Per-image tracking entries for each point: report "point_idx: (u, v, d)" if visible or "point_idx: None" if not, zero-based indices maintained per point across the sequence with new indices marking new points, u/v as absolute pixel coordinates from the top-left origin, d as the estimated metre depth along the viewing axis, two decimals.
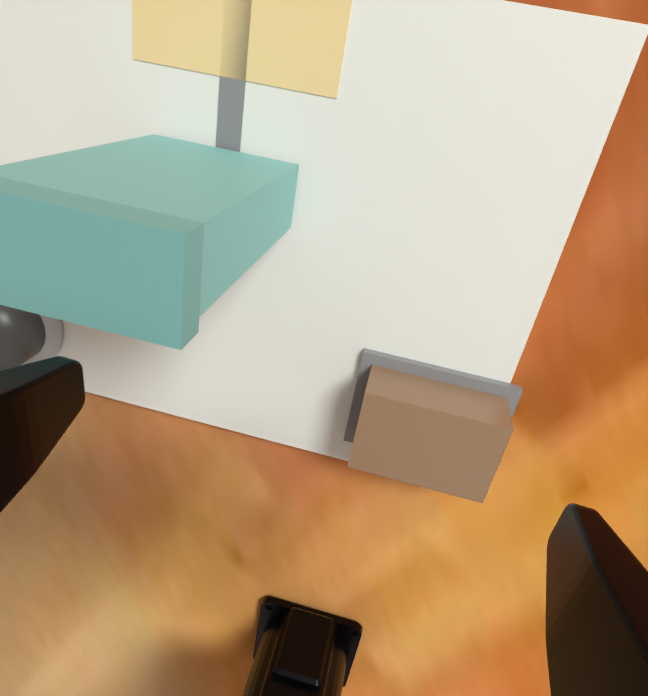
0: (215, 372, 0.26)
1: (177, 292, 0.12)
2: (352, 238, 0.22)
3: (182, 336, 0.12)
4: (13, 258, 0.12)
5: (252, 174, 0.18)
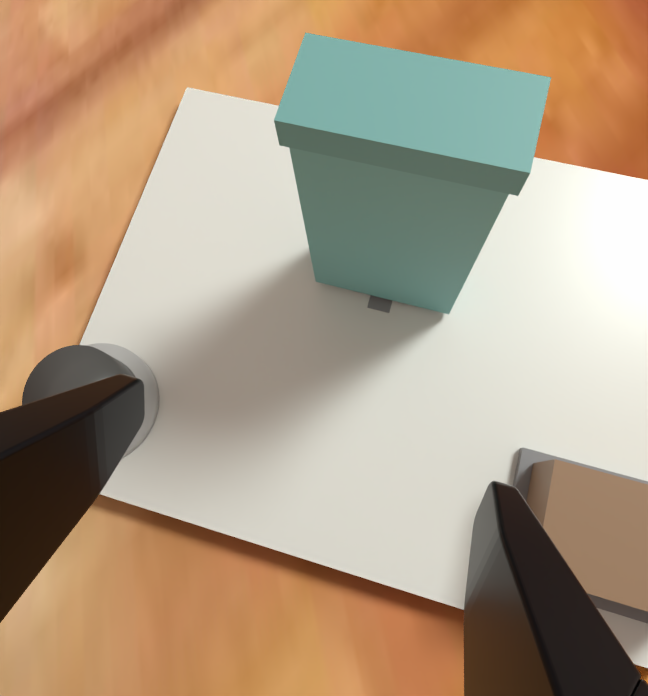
0: (335, 479, 0.22)
1: (534, 122, 0.13)
2: (506, 330, 0.23)
3: (532, 162, 0.13)
4: (374, 94, 0.13)
5: None
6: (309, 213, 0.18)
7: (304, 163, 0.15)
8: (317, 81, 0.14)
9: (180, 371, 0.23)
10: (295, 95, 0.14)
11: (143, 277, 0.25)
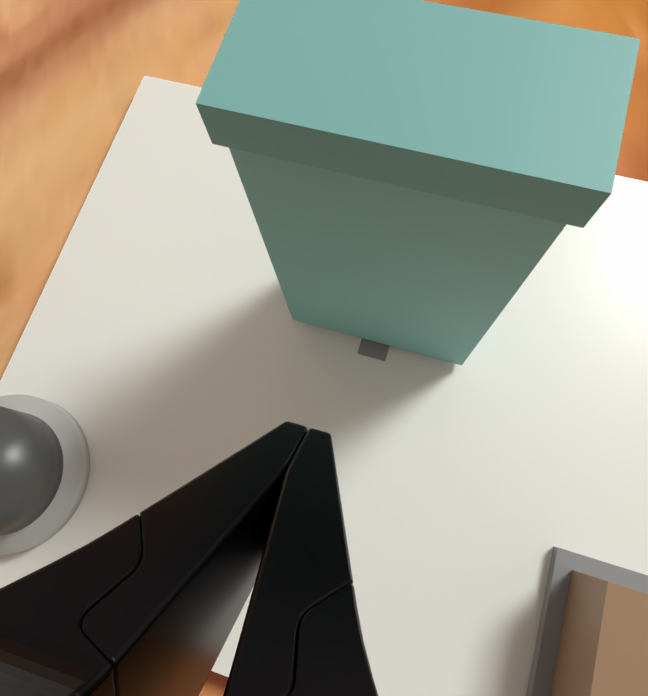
0: None
1: (615, 110, 0.08)
2: (535, 387, 0.18)
3: (613, 175, 0.08)
4: (355, 64, 0.08)
5: None
6: (272, 239, 0.13)
7: (254, 171, 0.10)
8: (267, 43, 0.09)
9: (118, 431, 0.18)
10: (231, 64, 0.09)
11: (78, 310, 0.20)
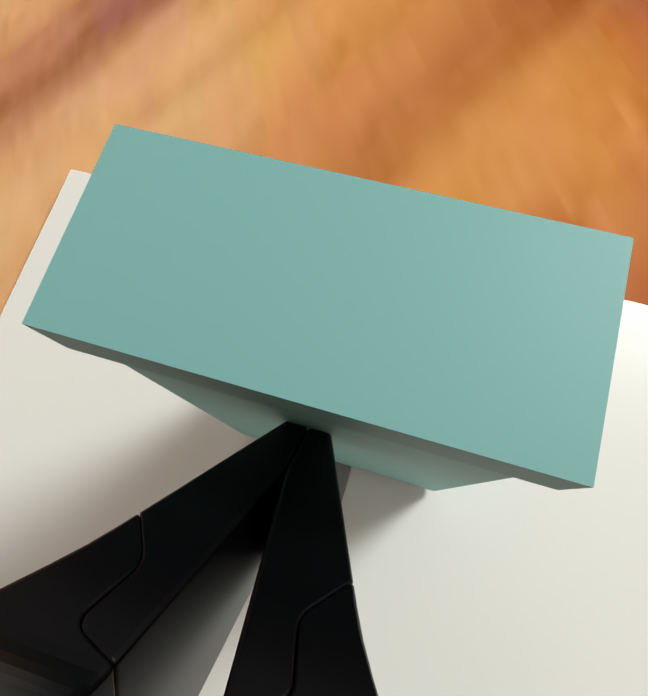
0: None
1: (599, 349, 0.06)
2: (510, 560, 0.15)
3: (596, 454, 0.05)
4: (241, 269, 0.06)
5: None
6: (188, 398, 0.11)
7: None
8: (125, 233, 0.06)
9: None
10: (74, 265, 0.06)
11: None
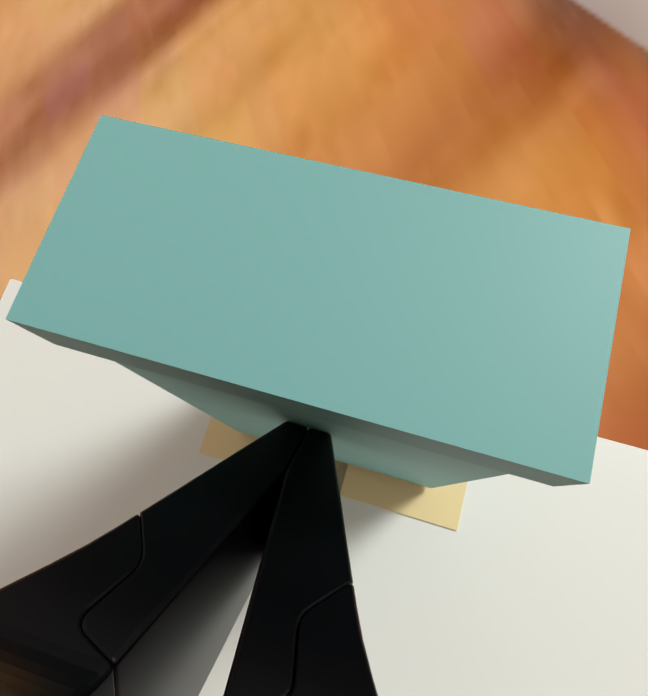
0: None
1: (595, 343, 0.06)
2: None
3: (592, 450, 0.05)
4: (230, 262, 0.06)
5: None
6: (181, 395, 0.10)
7: None
8: (111, 227, 0.06)
9: None
10: (59, 260, 0.06)
11: None
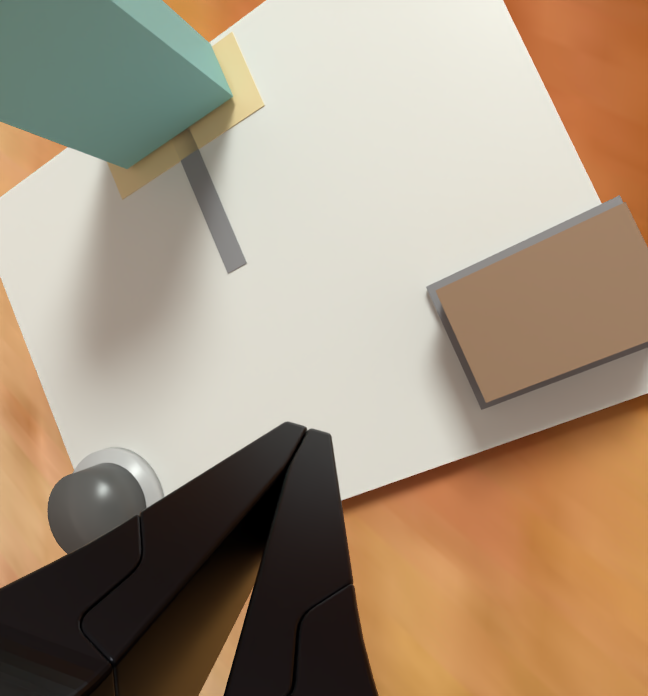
0: (308, 428, 0.22)
1: None
2: (344, 194, 0.21)
3: None
4: None
5: None
6: (13, 120, 0.18)
7: None
8: None
9: (147, 435, 0.25)
10: None
11: (70, 387, 0.26)
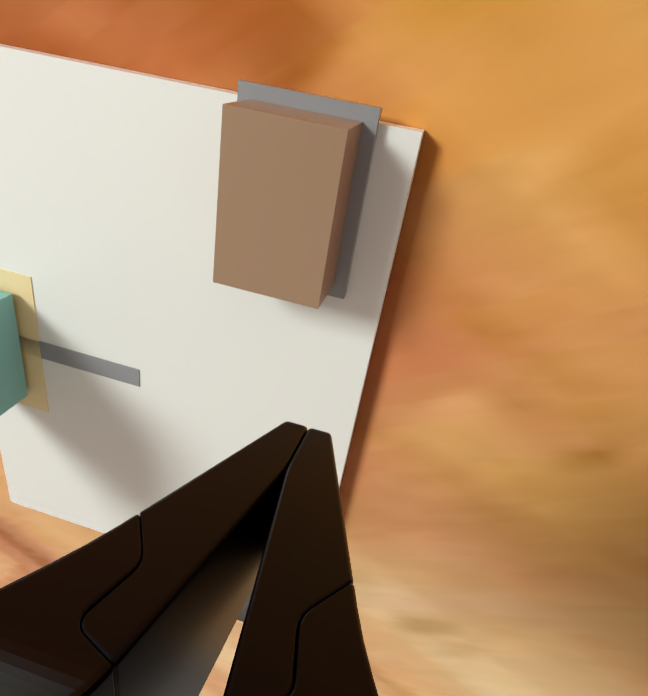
0: (284, 417, 0.25)
1: None
2: (126, 271, 0.23)
3: None
4: None
5: None
6: None
7: None
8: None
9: None
10: None
11: None
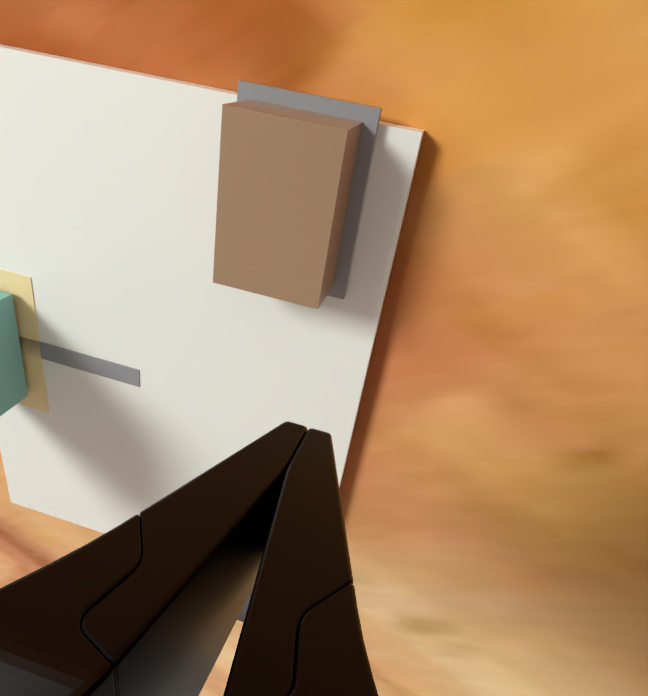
0: (284, 417, 0.25)
1: None
2: (126, 272, 0.23)
3: None
4: None
5: None
6: None
7: None
8: None
9: None
10: None
11: None
